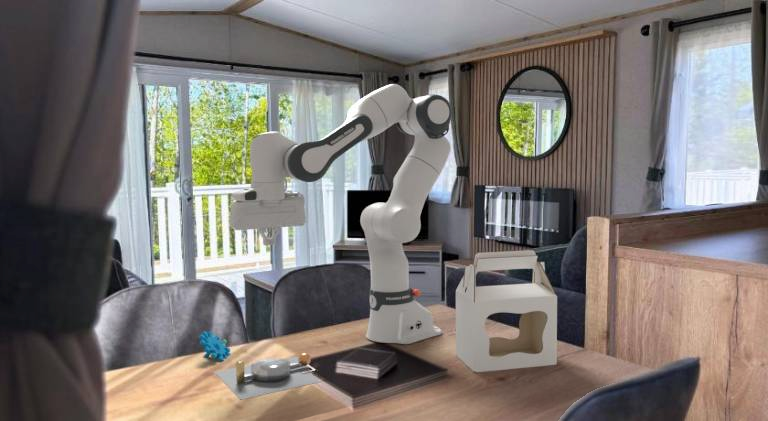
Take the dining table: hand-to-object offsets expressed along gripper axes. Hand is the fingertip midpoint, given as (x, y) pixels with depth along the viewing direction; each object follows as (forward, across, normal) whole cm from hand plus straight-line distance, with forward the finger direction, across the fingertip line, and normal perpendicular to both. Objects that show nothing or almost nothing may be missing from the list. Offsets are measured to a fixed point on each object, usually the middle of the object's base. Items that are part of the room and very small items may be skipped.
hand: (269, 244), depth 156 cm
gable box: (+29, -47, +40) cm, 68 cm away
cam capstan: (+28, +7, +20) cm, 35 cm away
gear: (+29, +15, -2) cm, 33 cm away
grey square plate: (+29, +8, +20) cm, 36 cm away
